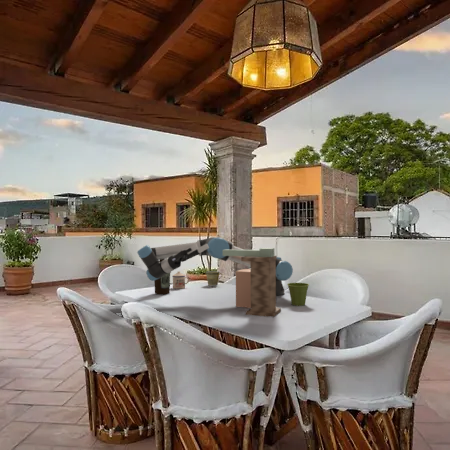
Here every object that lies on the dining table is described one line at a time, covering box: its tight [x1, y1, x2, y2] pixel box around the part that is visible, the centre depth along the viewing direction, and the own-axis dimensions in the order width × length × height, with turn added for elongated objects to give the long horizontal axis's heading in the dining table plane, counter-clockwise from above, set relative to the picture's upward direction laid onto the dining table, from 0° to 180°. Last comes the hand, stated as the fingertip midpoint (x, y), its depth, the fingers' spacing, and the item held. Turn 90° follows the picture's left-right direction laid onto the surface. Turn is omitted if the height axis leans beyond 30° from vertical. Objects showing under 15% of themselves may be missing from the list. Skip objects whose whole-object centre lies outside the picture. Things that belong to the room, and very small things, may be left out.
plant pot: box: [286, 282, 310, 307], centre depth 207 cm, size 12×12×11 cm
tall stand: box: [241, 255, 282, 318], centre depth 189 cm, size 16×14×28 cm
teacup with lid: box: [172, 270, 190, 290], centre depth 269 cm, size 12×9×12 cm
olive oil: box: [153, 259, 171, 296], centre depth 246 cm, size 11×11×25 cm
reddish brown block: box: [235, 268, 251, 309], centre depth 207 cm, size 14×14×19 cm
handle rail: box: [223, 247, 276, 257], centre depth 192 cm, size 26×6×4 cm, turn 68°
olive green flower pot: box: [205, 270, 223, 287], centre depth 278 cm, size 13×10×10 cm
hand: (202, 245), depth 202 cm, fingers open, 13 cm apart
